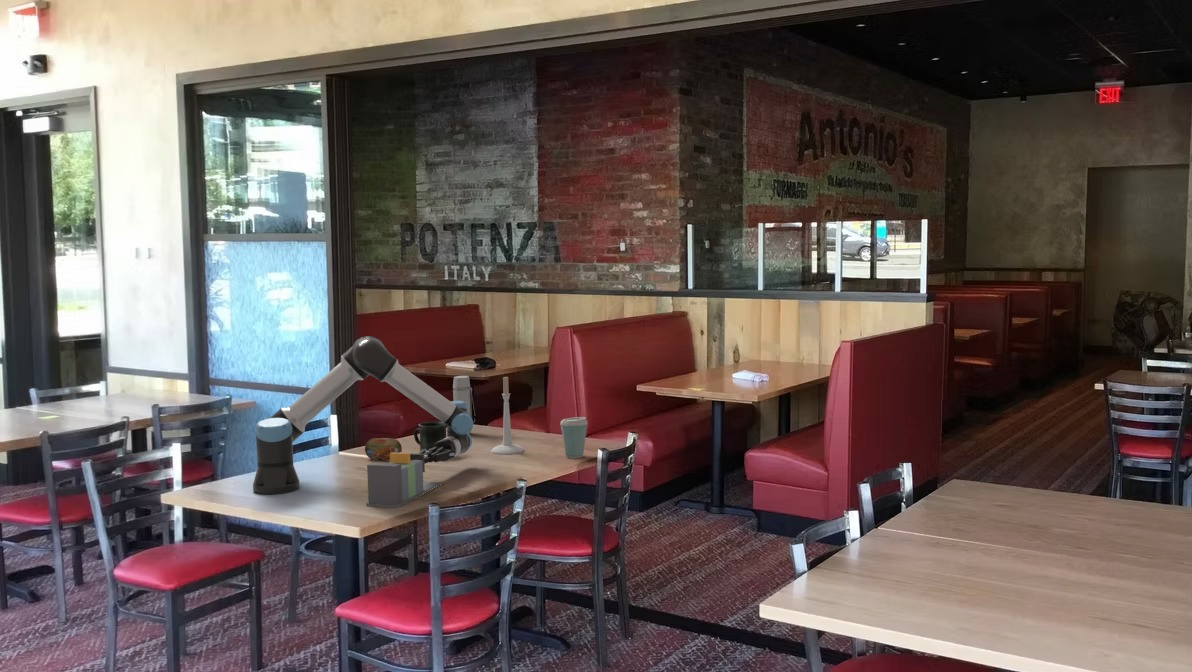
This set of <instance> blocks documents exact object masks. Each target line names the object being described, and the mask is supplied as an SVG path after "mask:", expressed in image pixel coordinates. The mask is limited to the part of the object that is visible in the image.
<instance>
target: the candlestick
mask: <svg viewBox="0 0 1192 672" xmlns="http://www.w3.org/2000/svg"><path fill="white" fill-rule="evenodd" d="M502 381H503V382H502V383H503V384H502V385H503V390H502V391H503V393H501V395H502V399H503V423H502V425H503V426H502V428H503V429H502V430H503V431H502V444H499V445H495V446H494V447H493V448H491V450H490V452H491V453H492V454H495V455H515V454H517V455H518V454H521V453H523V452H524V450H525V449H524V448H523V447H522V446H520V445H518V444H515V443H513V438H512V428H511V427H512V426H511V425H512V424H511V415H510V414H511V412H510V402H509V400H510V395H511V393H509V377H508V376H504V377H502Z"/></svg>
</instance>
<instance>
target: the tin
mask: <svg viewBox="0 0 1192 672" xmlns="http://www.w3.org/2000/svg"><path fill="white" fill-rule="evenodd" d="M364 451H365V454H366V456H367V457H368V458H369V459H370V460H372V459H383V460H382V461H385V460H390V453H392V452H393V453H399V452H403V448H402V443H401V442H400V441H399V440H398V439H396V438H386V437H385V438H383V437H381V438H377V437H376V438H374V437H373V438H370V439H369V440H367V442H366V443H365V446H364Z"/></svg>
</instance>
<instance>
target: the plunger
mask: <svg viewBox="0 0 1192 672" xmlns="http://www.w3.org/2000/svg"><path fill="white" fill-rule="evenodd" d="M399 453H406V452H404V451H402V452H399ZM409 453H410V461H413V460H422V462H423V473H426V470H425V469H426V468H425V467H426V466H425V465H426V464H425V462H424V454H418V453H413V452H412V453H411V452H409ZM399 464H401V465H404V464H406V463H399Z"/></svg>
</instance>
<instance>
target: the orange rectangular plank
mask: <svg viewBox="0 0 1192 672" xmlns="http://www.w3.org/2000/svg"><path fill="white" fill-rule="evenodd" d="M410 453H411V452H405V453H393V452H392V453H390V461H389V462H390V463H410Z"/></svg>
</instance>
